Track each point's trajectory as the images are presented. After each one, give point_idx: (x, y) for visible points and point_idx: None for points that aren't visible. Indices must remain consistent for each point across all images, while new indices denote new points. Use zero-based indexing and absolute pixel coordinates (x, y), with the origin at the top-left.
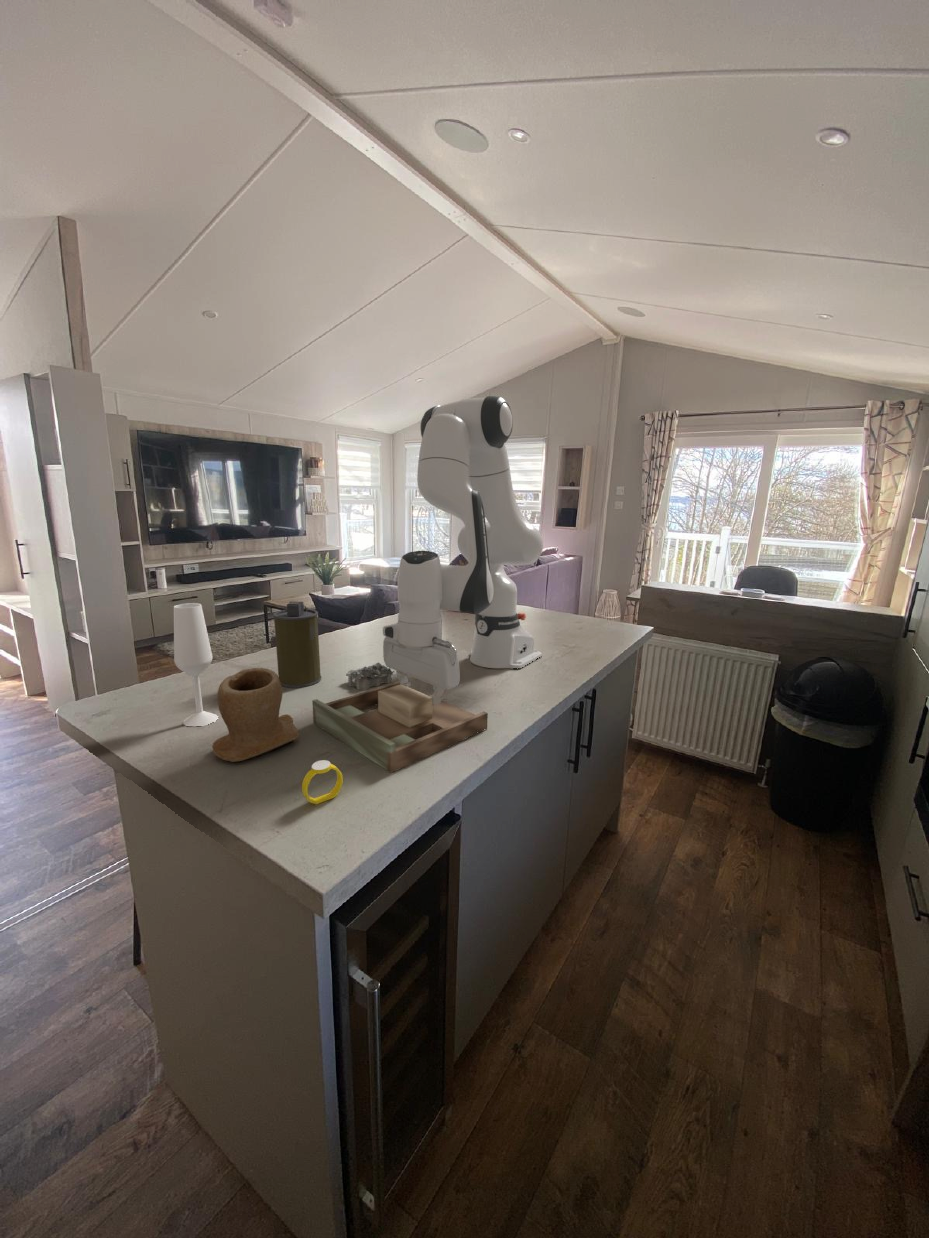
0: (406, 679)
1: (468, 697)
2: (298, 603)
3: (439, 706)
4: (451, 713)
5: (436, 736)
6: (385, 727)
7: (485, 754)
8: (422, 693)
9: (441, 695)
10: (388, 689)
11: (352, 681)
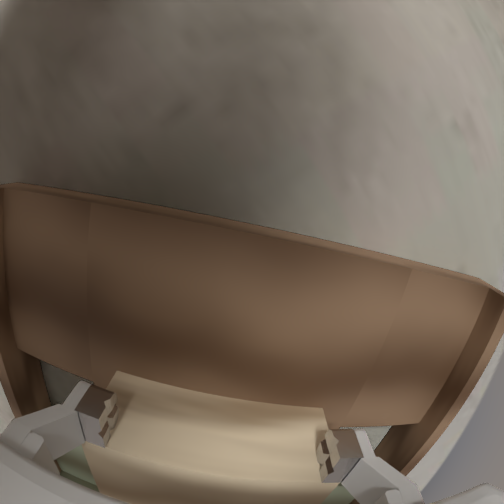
0: (63, 425)
1: (271, 24)
2: None
3: (281, 308)
4: (374, 335)
5: None
6: None
7: (483, 384)
8: (266, 481)
9: (380, 458)
10: (107, 484)
11: None
